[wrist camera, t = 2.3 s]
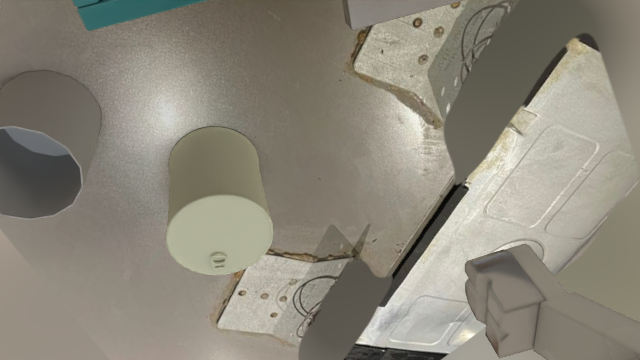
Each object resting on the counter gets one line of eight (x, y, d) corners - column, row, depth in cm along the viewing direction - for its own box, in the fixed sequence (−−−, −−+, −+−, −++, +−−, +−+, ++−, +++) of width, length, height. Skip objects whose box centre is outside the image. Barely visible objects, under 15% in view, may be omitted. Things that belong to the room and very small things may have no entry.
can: (169, 200, 52) (166, 283, 42) (167, 125, 47) (162, 199, 37) (255, 199, 54) (270, 277, 45) (262, 127, 49) (280, 197, 40)
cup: (109, 87, 44) (92, 143, 36) (93, 161, 47) (75, 227, 39) (1, 58, 40) (-44, 113, 32) (-7, 140, 44) (-49, 207, 36)
